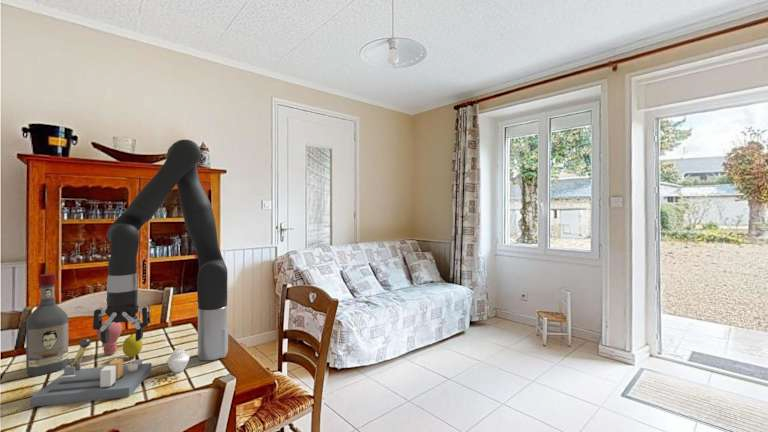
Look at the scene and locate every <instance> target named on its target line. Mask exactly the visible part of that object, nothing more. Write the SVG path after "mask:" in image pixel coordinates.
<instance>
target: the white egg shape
mask: <svg viewBox="0 0 768 432" xmlns="http://www.w3.org/2000/svg"><path fill="white" fill-rule="evenodd" d="M189 360H190V356H189V354H187V353H186V351H185V349H184V348H176V349H174V350H173V351H172V352H171V354H170V356H169V357H168V359H166V363H167V365H168V367H169V369H170V370H171V372H172V373H181V372H183V371H185V368H186V367H187V365H188V363H189Z"/></svg>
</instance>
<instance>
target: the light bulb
mask: <svg viewBox="0 0 768 432" xmlns="http://www.w3.org/2000/svg"><path fill="white" fill-rule="evenodd" d="M106 321H107V320H105V321H102V325H104V323H105V322H106ZM121 323H122V322H119V323H115V322H113V323H112V324H111V325H110V326H109V328H108V329H109V342H107V343H104V344H103V342H102V341H101V331H100V330H97V329H96V336H97V338H98V340H99V341H100V343H102V347H103V355H112V354H113V353H116V352H118V345H117V341H118V339H119V338H120V336H121V333H122V331H123V325H122V324H121Z"/></svg>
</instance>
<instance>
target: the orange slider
mask: <svg viewBox="0 0 768 432" xmlns="http://www.w3.org/2000/svg"><path fill="white" fill-rule="evenodd" d="M115 365H116V379H119V378H120V377H121V376H122V375H123V365H124V358H118V359H116V358H115V359H112V360H111V361H110V362H109V363H108V366H115Z"/></svg>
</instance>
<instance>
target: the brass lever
mask: <svg viewBox="0 0 768 432" xmlns="http://www.w3.org/2000/svg"><path fill="white" fill-rule="evenodd" d="M91 342H92V341H91V339H89V338H86V337H85V338H82V339H81V340H80V341H79V344H78V345H79V348H78V351H77V353H76V355H75V358H74V359H73V362H72V363H73V365H72V367H75V370H76V369H78V367H79V364H80V363H82V359H83V358H84V354H85V353H86V350H87V348H88V347H89V346H90V345H91Z"/></svg>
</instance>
